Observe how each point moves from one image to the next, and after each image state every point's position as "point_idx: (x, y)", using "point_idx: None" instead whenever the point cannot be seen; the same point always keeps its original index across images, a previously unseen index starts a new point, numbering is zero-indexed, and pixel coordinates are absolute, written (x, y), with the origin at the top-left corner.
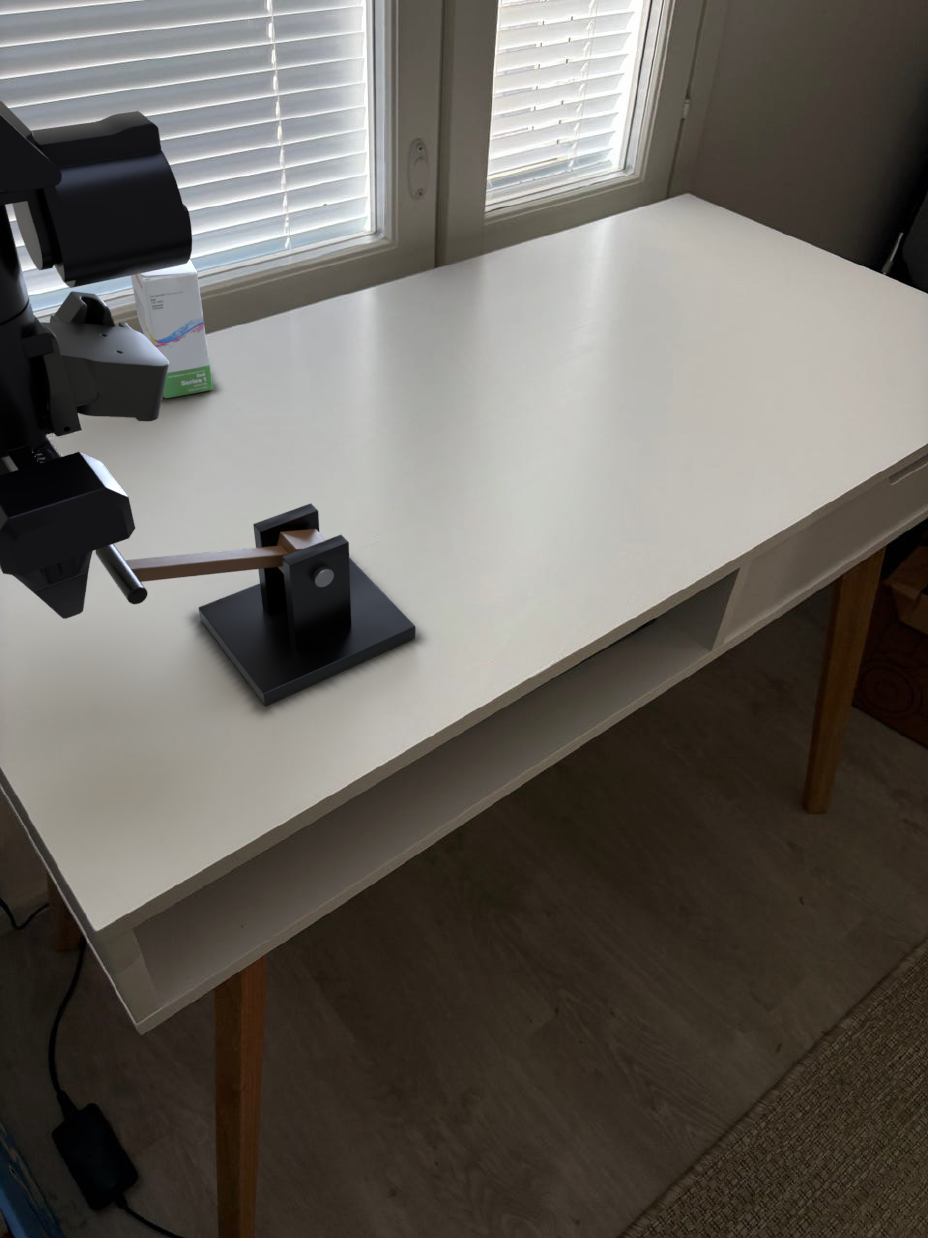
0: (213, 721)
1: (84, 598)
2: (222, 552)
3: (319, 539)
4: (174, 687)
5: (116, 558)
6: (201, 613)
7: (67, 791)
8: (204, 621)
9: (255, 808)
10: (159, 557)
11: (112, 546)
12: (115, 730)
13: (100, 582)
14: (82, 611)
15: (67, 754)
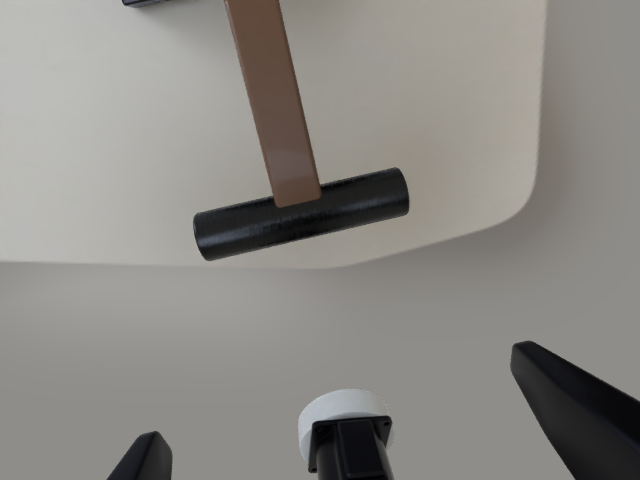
0: (358, 49)
1: (576, 366)
2: None
3: None
4: None
5: (278, 228)
6: (138, 3)
7: (385, 226)
8: (150, 2)
9: (513, 36)
10: (258, 109)
11: (220, 230)
12: (324, 172)
13: (18, 150)
14: (530, 341)
15: None
